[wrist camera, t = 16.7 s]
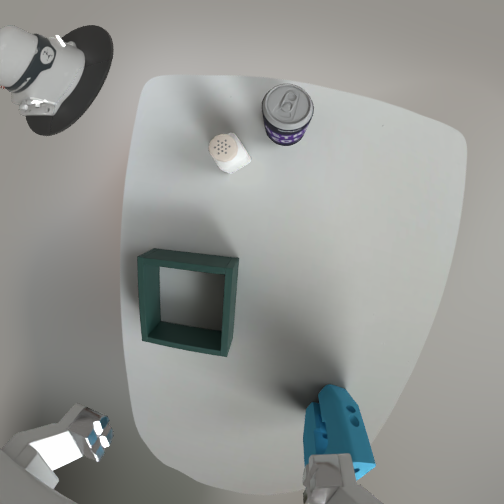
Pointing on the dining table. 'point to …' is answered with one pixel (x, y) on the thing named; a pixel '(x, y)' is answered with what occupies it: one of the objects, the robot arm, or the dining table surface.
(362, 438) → the block
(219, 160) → the salt shaker
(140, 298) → the bin
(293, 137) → the beverage can
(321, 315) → the dining table surface
